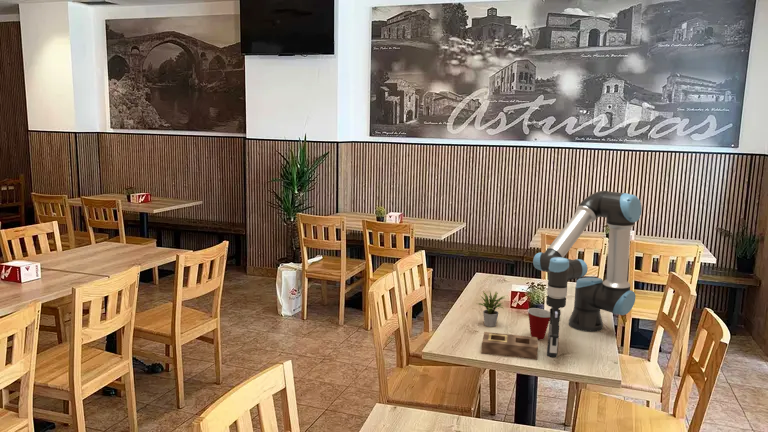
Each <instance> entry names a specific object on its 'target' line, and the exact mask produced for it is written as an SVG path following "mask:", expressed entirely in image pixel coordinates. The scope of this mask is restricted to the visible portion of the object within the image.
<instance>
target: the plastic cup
mask: <svg viewBox="0 0 768 432" xmlns="http://www.w3.org/2000/svg"><path fill="white" fill-rule="evenodd" d="M527 313H528V321H529V323H528V324H529V330H530V337H537V339H538V340H542V341H543V340H544V339H545V337H546V334H547V333H546V332H547V330H548V328H549V324H550V321H549V320H550V310H546V309H542V308H538V307H537V308H536V307H531V308H528V309H527ZM538 340H537V341H538Z"/></svg>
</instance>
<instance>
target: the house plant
mask: <svg viewBox="0 0 768 432" xmlns="http://www.w3.org/2000/svg"><path fill="white" fill-rule="evenodd" d="M498 294H499V292H497V291H495V292H494V295H493V296H492V293H491V291H489V295H488V294H486V292H485V291H483V295H484V297H483V296H482V295H480V297H481V299H482V300H483V301H484V302H483V303H478V304H477V305H480V306H483V307H485V310H483V311H482V314H483V315H482V316H483V323H484V326H485V327H488V328H493V327H496V326H497V321H498V315H499V311H497V310H499V309H500V308H501V309H504V306H502V302H501V300H503V299H506V298H505V295H502V296H501V297H499V298H498V299H497V297H498ZM506 297H508V295H506ZM499 302H500V303H499Z"/></svg>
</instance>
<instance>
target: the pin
mask: <svg viewBox="0 0 768 432" xmlns="http://www.w3.org/2000/svg"><path fill="white" fill-rule="evenodd" d="M550 335H552V324H550V323H549V324H548V336H547V349H546V350H547V351H546V356H547V357H549V358H553V359H554V358H557V357H558V352H557V353H550V342H551V337H549V336H550ZM554 335H557V334H554ZM558 347H559V344H558V345H557V351H558V350H559V349H558Z"/></svg>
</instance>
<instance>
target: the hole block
mask: <svg viewBox="0 0 768 432" xmlns="http://www.w3.org/2000/svg"><path fill="white" fill-rule="evenodd" d="M538 343H539V342H538V340H537V337H531V336H525V335H518V334H508V333H499V332H489V331H484V332H483V336H482V341H481V354H483V355H484V354H485V355H492V356H493V355H494V356H501V357H502V356H503V357H510V358H518V359H519V358H520V359H528V360H538V353H539V350H538V349H539V344H538Z"/></svg>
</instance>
